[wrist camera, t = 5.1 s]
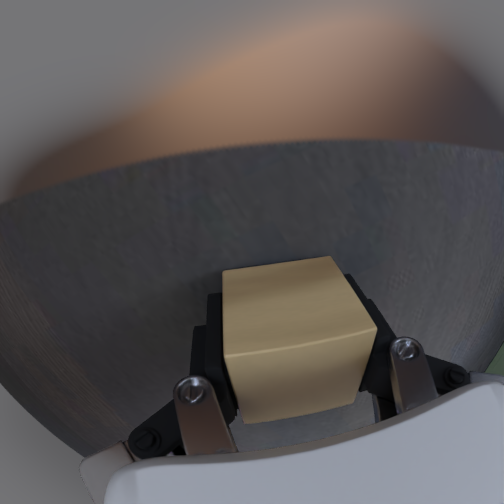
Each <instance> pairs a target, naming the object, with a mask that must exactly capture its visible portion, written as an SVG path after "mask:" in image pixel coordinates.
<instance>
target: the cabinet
mask: <svg viewBox="0 0 504 504" xmlns="http://www.w3.org/2000/svg"><path fill="white" fill-rule="evenodd" d="M484 373H490V374H499V375H502V376H504V342H503V344H502V346H501V348H500V349H499V351H498V353H497V354H496V356H495V357H494V359H493V360H492V362H491V363H490V365H489V367H488V368H487V369H486V371H485V372H484Z"/></svg>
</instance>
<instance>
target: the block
mask: <svg viewBox="0 0 504 504" xmlns="http://www.w3.org/2000/svg"><path fill="white" fill-rule="evenodd" d="M222 296H223V352H224V359H225V363H226V367H227V370H228V374H229V377H230V380H231V384H232V387H233V391H234V394H235V397H236V401H237V404H238V407H239V410H240V413H241V417H242V420H243V423H244V424H250V423H258V422H266V421H273V420H279V419H285V418H291V417H296V416H301V415H306V414H311V413H316V412H320V411H325V410H329V409H333V408H337V407H340V406H344V405H348V404H351V403H353V402H354V400H355V397H356V395H357V392H358V389H359V386H360V384H361V381H362V378H363V375H364V372H365V369H366V366H367V363H368V359H369V356H370V353H371V350H372V346H373V343H374V339H375V336H376V332H377V327H376V325H375V323H374V322H373V320H372V319H371V317H370V315H369V314H368V312H367V311H366V309H365V307H364V306H363V304H362V303H361V301H360V300H359V298H358V297H357V295H356V293H355V292H354V290H353V289H352V287H351V286H350V284H349V283H348V281H347V280H346V278H345V277H344V275H343V274H342V272H341V271H340V269H339V268H338V266H337V265H336V263H335V262H334V260H333V259H332V258H331V256H325V257H318V258H311V259H305V260H298V261H291V262H283V263H276V264H269V265H262V266H255V267H247V268H240V269H232V270H225V271H223V272H222Z"/></svg>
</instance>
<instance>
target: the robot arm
mask: <svg viewBox="0 0 504 504" xmlns="http://www.w3.org/2000/svg"><path fill="white" fill-rule="evenodd" d="M344 277H345V278H346V280H347V281H348V283H349V284H350V286H351V287H352V289H353V290H354V292H355V293H356V295H357V297H358V298H359V300H360V301H361V303H362V304H363V306H364V307H365V309H366V311H367V312H368V314H369V315H370V317H371V319H372V320H373V322H374V323H375V325H376V327H377V332H376V336H375V339H374V343H373V346H372V350H371V353H370V356H369V359H368V363H367V366H366V369H365V372H364V375H363V378H362V381H361V384H360V386H359V392H362V391H365V390H368V392H369V393H371V394H372V399H373V407H374V415H375V424H372V425H369V426H366V427H363V428H360V429H357V430H353V431H350V432H347V433H343V434H339V435H336V436H332V437H328V438H324V439H320V440H315V441H311V442H306V443H301V444H296V445H291V446H285V447H279V448H272V449H265V450H257V451H248V452H239V451H238V449H237V446H236V444H235V441H234V438H233V436H232V433H231V430H230V428H229V424H230V423H231V422H232V421H233V420H234V419H235V416H237V409H239V407H238V404H237V401H236V397H235V394H234V391H233V387H232V384H231V380H230V377H229V374H228V370H227V367H226V363H225V359H224V352H223V296H222V294H221V293H216V294H209V295H208V305H207V323H206V325H203V326H195V327H194V330H193V340H192V351H191V363H190V376H187V377H185V378H183V379H181V380H180V381H178V383H177V384H176V385H175V387H174V389H173V398H174V399H173V400H172V401H170V402H169V403H168V404H167V405H165V406H164V407H163V408H162V409H160V410H159V411H158V412H156V413H155V414H154V415H152V416H151V417H150V418H149V419H147V420H146V421H145V422H143V423H142V424H141V425H139V426H138V427H137V428H135V429H134V430H133V431H132V432H131V434H130V436H129V438H128V440H126V441H124V442H122V441H119V442H117V443H115V444H113V445H111V446H109V447H107V448H105V449H103V450H101V451H99V452H96V453H94V454H92V455H90V456H88V457H86V458H85V459H83V460H82V462H81V463H80V467H79V471H80V475H81V477H82V480H83V482H84V484H85V486H86V488H87V490H88V492H89V494H90V496H91V498H92V500H93V502H94V504H504V376H502V375H499V374H490V373H483V372H475V371H470V372H469V373H467V371H466V370H465V369H464V368H463V367H461V366H459V365H457V364H453V363H450V362H447V361H444V360H441V359H438V358H434V357H431V356H428V355H425V353H424V350H423V348H422V346H421V344H420V343H419V342H418V341H417V340H415V339H413V338H410V337H399V338H397V337H396V336H395V334H394V333H393V331H392V330H391V328H390V326H389V325H388V323H387V322H386V320H385V319H384V317H383V316H382V314H381V313H380V311H379V310H378V308H377V307H376V305H375V304H374V302H373V301H372V300H371V299H367V298H366V296H365V295H364V293H363V292H362V290H361V289H360V288H359V286H358V285H357V283H356V282H355V280H354V279H353V277H352V276H351V275H350V274H345V275H344Z"/></svg>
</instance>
